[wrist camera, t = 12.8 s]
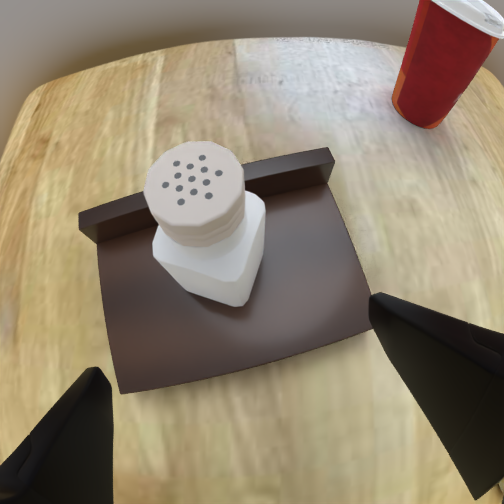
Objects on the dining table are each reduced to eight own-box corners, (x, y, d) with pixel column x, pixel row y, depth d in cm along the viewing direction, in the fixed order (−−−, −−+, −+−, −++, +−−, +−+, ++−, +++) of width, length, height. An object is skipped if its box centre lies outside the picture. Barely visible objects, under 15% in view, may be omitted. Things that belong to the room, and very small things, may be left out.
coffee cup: (461, 137, 26) (526, 37, 12) (403, 138, 25) (466, 9, 11) (425, 84, 28) (468, -13, 14) (368, 81, 28) (403, -35, 14)
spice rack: (365, 330, 20) (399, 319, 14) (137, 390, 18) (100, 398, 13) (314, 191, 23) (328, 146, 18) (112, 244, 22) (78, 212, 17)
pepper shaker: (245, 311, 17) (232, 257, 8) (179, 290, 18) (110, 219, 9) (266, 247, 19) (273, 144, 10) (203, 229, 19) (164, 123, 10)
